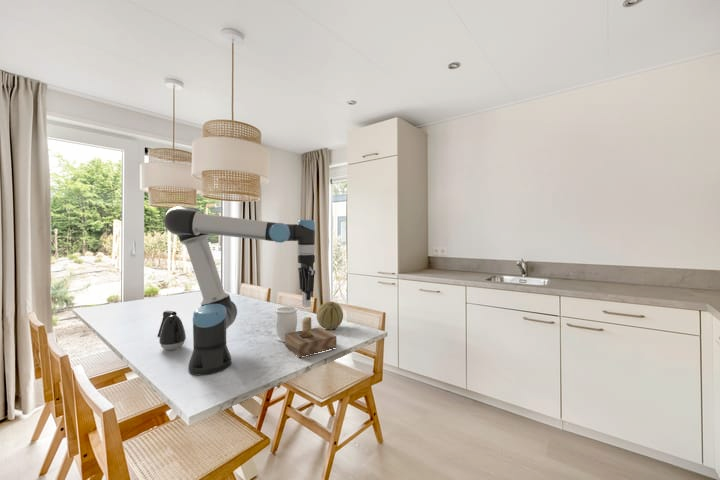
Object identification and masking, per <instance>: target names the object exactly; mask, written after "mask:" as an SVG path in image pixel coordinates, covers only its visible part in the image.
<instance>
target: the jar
mask: <svg viewBox="0 0 720 480" xmlns="http://www.w3.org/2000/svg"><path fill="white" fill-rule="evenodd" d="M297 312H298V308H297V307H293V306H282V307H277V308H275V313H276V314H275V320H274V321H275V322H274V323H275V329H276V334H277V336H278V337H277V341H278V342H280V343H281V342H282V343H285V334H286V333H292V332H297V325H298V316H297Z"/></svg>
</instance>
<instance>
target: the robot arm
mask: <svg viewBox="0 0 720 480" xmlns="http://www.w3.org/2000/svg"><path fill="white" fill-rule="evenodd" d="M163 223H164V226H165V228H166V230H168V232H169V233H171V234H173V235H175V236H178V239H179V243H180V244H182V245H184V246H185V247H186V251H187V253H188V257H189V259H190V263H191V266H192V268H193V273H194V275H195V279H196V281H197V284H198V287H199V290H200V293H201V296H202V301H201V302H200V306H199V307H197V308H196V309H195V310H194V311H193V314H192V315H193V316H192V328H193V329H192V336H193V337H192V339H193V341H192V342H193V344H192V345H193V347H192V348H193V350H192V353H191V356H190V358H189V362H188V366H187V367H188V368H187V369H188V373H190V375H196V376H206V375H213V374H217V373H220V372H222V371H223V372H224V370H227V369H229V368H230V366H232V356H231V353H230V350H229V347H228V345H227V329H228V328H229V327H230V326H231V325H233V323H234V322H235V321H236V319H237V315H238V308H237V305H236V304H235V302H234V301H232V299H231V296H230V294H229V293H227V292H225V290H224V286H223V284H222V281H221V278H220V274H219V271H218V268H217V266H216V262H215V260H214V255H213V253H212V250H211V247H210V244H209V241H208V239H209V238H210V235H215V236H223V237H234V238H240V239H241V238H243V239H249V240H261V241H267V242H275V243H284V242H297V254H298V255H297V263H298V264H300V267H298V268H297V269H298V278H299V289H300V291H301V302H302V304H301V305H302V307H303V308H311V307H312V306H311V305H312V299H311V297H312V292H314V283H315V275H316V270H314V269H313V264H314V263H315V262H316V258H315V257H316V255H315V253H316V251H315V250H316V241H315V240H316V226H315V225H316V224H315V221H314V220H313V219H299V220H297V223H293V224H291V223H283V222H273V221H264V220H257V219H247V218H241V217H239V218H238V217H232V216H231V217H230V216H223V215H216V214H215V215H214V214H208V213H206V214H205V213H204V212H203V211H201V210H200V209H198V208H194V207H187V206H175V207H172V208H170V209H168V210H167V212H165V215H164V217H163Z"/></svg>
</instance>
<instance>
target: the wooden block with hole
mask: <svg viewBox="0 0 720 480" xmlns="http://www.w3.org/2000/svg"><path fill="white" fill-rule="evenodd" d="M311 335H312V337H309V338H304V339H303V338H302V330H298V331H297V330H296V332H292V333H286V334H285V342H284V345H285V346H286V347H287V348H288V349H287V348H286V347H285V348H286V349H287V350H288V351H290V352H291V351H292V352H293V353H294V354H295V355H294V354H293V353H292V352H291V353H292V354H293V355H294V356H296V355H297V356H298V357H302V356H306V355H310V354H314V353H318V352H322V351H326V350H329V349H333V348H336V349H337V335H335V334H333V333H332V332H330V331H328V330H327V329H325V328H323V327H321V326H318V327H314V328H313V327H312V328H311ZM297 356H296V357H297ZM298 357H297V358H298Z"/></svg>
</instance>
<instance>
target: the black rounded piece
mask: <svg viewBox="0 0 720 480" xmlns="http://www.w3.org/2000/svg"><path fill="white" fill-rule="evenodd" d="M171 315H176V316H178V315H177V312H176V311H172V310H164V311H163V313H162V320H161V323H160V326H159V329H158V333H157V337H159V338H160V334H161V330H162V327H163V324H164V322H165V320H166V318H167V317H169V316H171Z"/></svg>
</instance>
